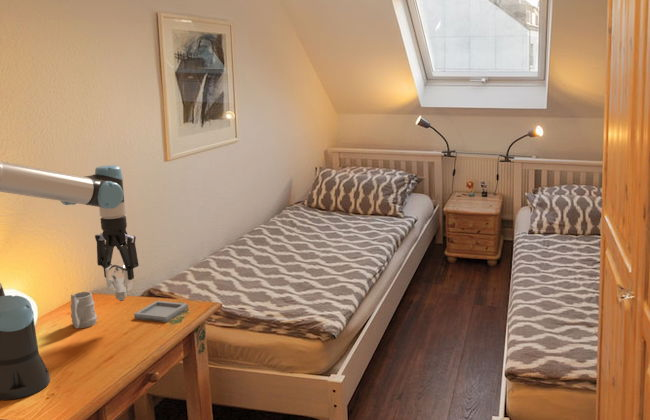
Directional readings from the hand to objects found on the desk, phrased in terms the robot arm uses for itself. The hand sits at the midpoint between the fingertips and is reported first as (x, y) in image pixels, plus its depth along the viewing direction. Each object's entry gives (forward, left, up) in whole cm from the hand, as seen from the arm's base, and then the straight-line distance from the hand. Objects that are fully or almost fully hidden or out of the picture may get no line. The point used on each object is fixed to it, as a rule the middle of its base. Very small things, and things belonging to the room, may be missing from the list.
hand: (120, 288), depth 217 cm
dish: (+13, -5, -13) cm, 19 cm away
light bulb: (0, 0, -4) cm, 4 cm away
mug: (-3, +14, -13) cm, 19 cm away
